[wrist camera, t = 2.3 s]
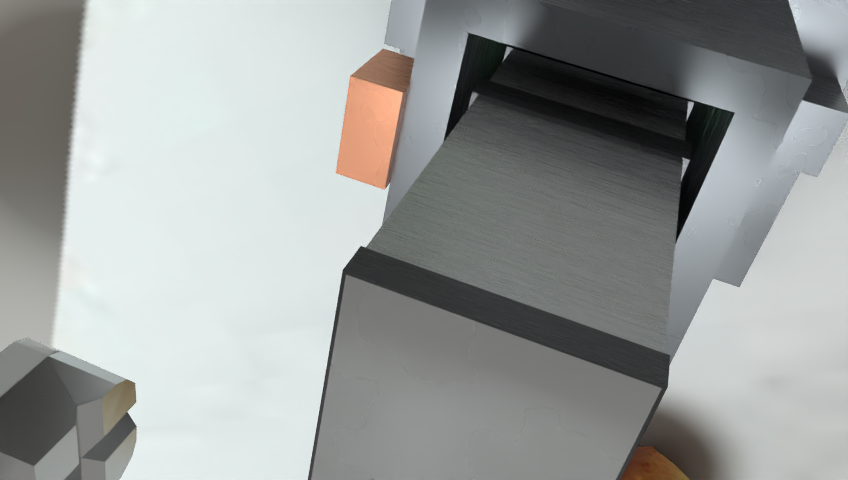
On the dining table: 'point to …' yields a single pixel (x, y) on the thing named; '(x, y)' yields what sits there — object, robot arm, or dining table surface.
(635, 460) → the fruit
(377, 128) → the stand
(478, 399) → the column
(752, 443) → the dining table surface
